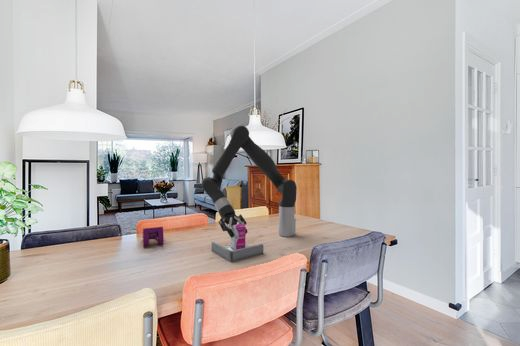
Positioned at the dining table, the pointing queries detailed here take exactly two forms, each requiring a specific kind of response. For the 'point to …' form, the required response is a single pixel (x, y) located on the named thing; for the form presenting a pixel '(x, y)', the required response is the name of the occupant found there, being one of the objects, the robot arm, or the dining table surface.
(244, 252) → the corner tray
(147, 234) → the mounting bracket
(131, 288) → the dining table surface
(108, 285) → the dining table surface
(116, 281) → the dining table surface
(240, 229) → the supplement box
